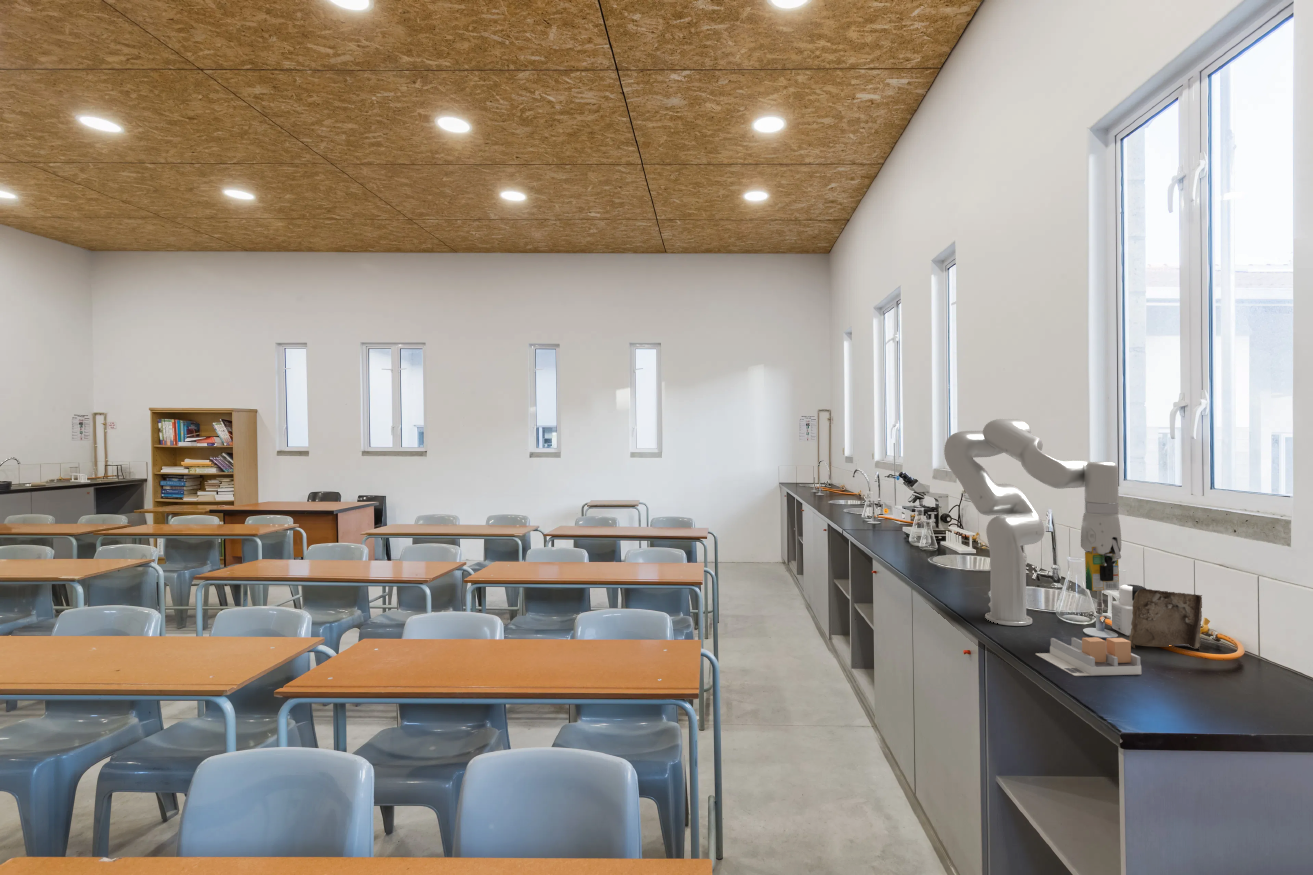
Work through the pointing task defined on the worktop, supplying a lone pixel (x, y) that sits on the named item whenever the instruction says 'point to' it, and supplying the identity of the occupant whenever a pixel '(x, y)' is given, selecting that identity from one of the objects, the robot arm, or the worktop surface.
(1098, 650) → the tan rectangular block
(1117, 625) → the container
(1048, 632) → the worktop surface
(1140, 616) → the mineral sample
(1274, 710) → the worktop surface
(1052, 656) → the white divided tray
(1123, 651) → the light orange block
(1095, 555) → the crayon box
